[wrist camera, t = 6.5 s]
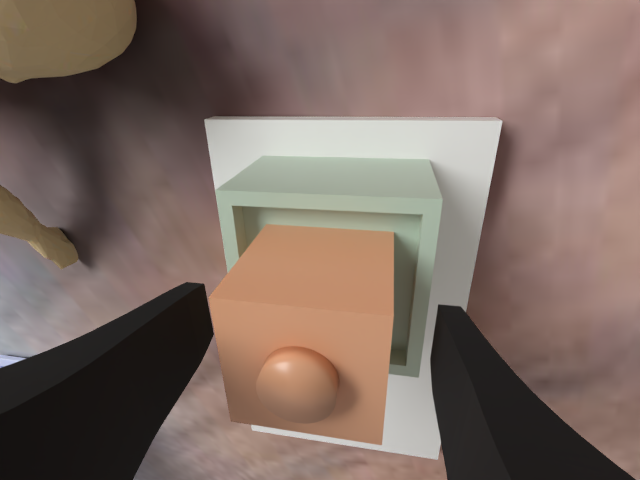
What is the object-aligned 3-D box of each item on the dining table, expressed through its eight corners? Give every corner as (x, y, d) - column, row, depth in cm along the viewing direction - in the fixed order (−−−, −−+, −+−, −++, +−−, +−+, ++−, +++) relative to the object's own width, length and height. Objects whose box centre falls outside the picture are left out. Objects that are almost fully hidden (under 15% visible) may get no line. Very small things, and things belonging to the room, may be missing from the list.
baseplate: (436, 444, 23) (447, 553, 18) (257, 417, 25) (222, 508, 20) (496, 117, 14) (551, 147, 9) (214, 116, 17) (133, 141, 11)
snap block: (385, 335, 14) (381, 466, 9) (275, 323, 15) (222, 440, 10) (393, 231, 12) (394, 334, 8) (266, 224, 13) (196, 313, 8)
